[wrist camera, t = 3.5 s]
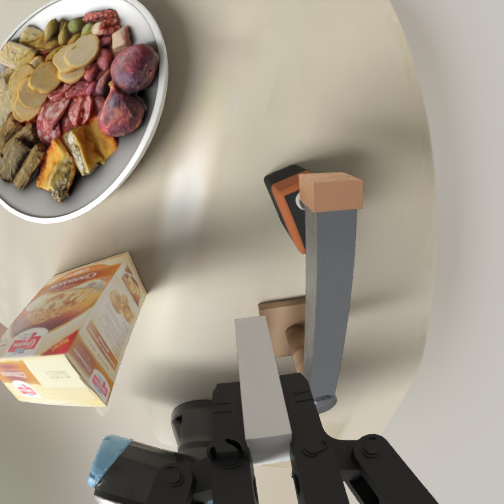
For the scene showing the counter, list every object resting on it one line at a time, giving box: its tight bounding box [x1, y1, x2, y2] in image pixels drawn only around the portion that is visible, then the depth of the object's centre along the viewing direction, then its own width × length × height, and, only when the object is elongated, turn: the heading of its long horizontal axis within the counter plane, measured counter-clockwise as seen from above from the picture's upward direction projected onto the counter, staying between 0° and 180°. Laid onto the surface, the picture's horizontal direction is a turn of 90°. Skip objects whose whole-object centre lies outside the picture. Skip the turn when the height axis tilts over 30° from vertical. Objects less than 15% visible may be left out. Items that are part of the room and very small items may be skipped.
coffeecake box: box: [0, 252, 147, 407], centre depth 26 cm, size 15×7×20 cm, turn 103°
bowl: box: [0, 0, 168, 223], centre depth 21 cm, size 30×30×8 cm
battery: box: [264, 165, 312, 254], centre depth 29 cm, size 4×7×10 cm, turn 24°
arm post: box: [258, 297, 306, 375], centre depth 36 cm, size 10×10×12 cm
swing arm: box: [299, 172, 363, 414], centre depth 24 cm, size 4×26×4 cm, turn 5°
